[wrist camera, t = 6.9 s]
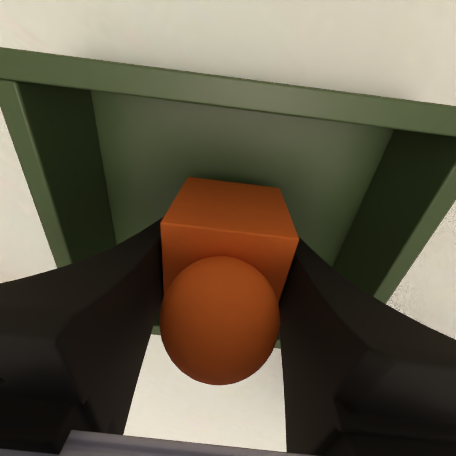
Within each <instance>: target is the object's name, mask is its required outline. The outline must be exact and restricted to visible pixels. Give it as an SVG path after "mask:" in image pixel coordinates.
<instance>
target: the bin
mask: <svg viewBox="0 0 456 456" xmlns="http://www.w3.org/2000/svg"><path fill="white" fill-rule="evenodd" d="M0 107H1V110H2V113H3V116H4V119H5V121H6V124H7V127H8V130H9V133H10V136H11V138H12V141H13V144H14V147H15V150H16V153H17V155H18V158H19V161H20V164H21V167H22V170H23V172H24V175H25V178H26V181H27V184H28V187H29V189H30V192H31V195H32V198H33V201H34V204H35V206H36V209H37V212H38V215H39V218H40V221H41V223H42V226H43V229H44V232H45V235H46V237H47V240H48V243H49V246H50V249H51V252H52V254H53V257H54V260H55V263H56V266H57V268H60V267H63V266H66V265H69V264H72V263H74V262H77V261H80V260H83V259H85V258H88V257H91V256H93V255H96V254H98V253H100V252H102V251H105V250H107V249H109V248H111V247H113V246H115V245H117V244H119V243H121V242H123V241H125V240H126V239H128V238H130V237H132V236H134V235H135V234H137V233H139V232H140V231H142V230H144V229H145V228H147V227H148V226H150V225H151V224H153V223H155V222H156V221H158V220H159V219H161V218H162V217H164V216H165V214H166V213H167V211H168V209H169V208H170V206H171V204H172V203H173V201H174V199H175V198H176V196H177V194H178V193H179V191H180V189H181V188H182V186H183V184H184V183H185V181H186V179H187V178H188V177H194V178H202V179H210V180H218V181H227V182H235V183H243V184H251V185H259V186H267V187H276V188H280V190H281V193H282V196H283V198H284V201H285V203H286V206H287V209H288V211H289V214H290V217H291V219H292V222H293V224H294V227H295V230H296V232H297V235H298V236H299V237H300V238H301V239H302V240H303V241H304V242H305V243H306V244H307V245H308V246H309V247H310V248H311V249H312V250H313V251H314V252H316V253H317V254H318V255H319V256H320V257H321V258H322V259H323V260H324V261H325V262H327V263H328V264H329V265H330V266H331V267H333V268H334V269H335V270H336V271H337V272H339V273H340V274H341V275H342V276H344V277H345V278H347V279H348V280H349V281H351V282H352V283H353V284H355V285H356V286H358V287H359V288H361V289H362V290H364V291H365V292H367V293H368V294H370V295H371V296H373V297H375V298H376V299H378V300H379V301H381V302H383V303H384V304H386V303H387V301H388V300H389V298H390V297H391V295H392V294H393V292H394V291H395V289H396V288H397V286H398V285H399V283H400V282H401V280H402V279H403V277H404V276H405V275H406V273H407V272H408V270H409V269H410V267H411V266H412V264H413V263H414V261H415V260H416V258H417V257H418V255H419V254H420V252H421V251H422V249H423V248H424V246H425V245H426V243H427V242H428V240H429V239H430V237H431V236H432V234H433V233H434V232H435V230H436V229H437V227H438V226H439V224H440V223H441V221H442V220H443V218H444V217H445V215H446V214H447V212H448V211H449V209H450V208H451V206H452V205H453V203H454V202H455V200H456V106H451V105H443V104H435V103H428V102H420V101H412V100H404V99H397V98H389V97H381V96H374V95H366V94H358V93H350V92H343V91H335V90H327V89H320V88H312V87H304V86H296V85H289V84H281V83H273V82H266V81H258V80H250V79H242V78H235V77H227V76H219V75H211V74H204V73H196V72H188V71H181V70H173V69H165V68H157V67H150V66H142V65H134V64H127V63H119V62H111V61H103V60H96V59H88V58H80V57H73V56H65V55H57V54H49V53H42V52H34V51H26V50H19V49H11V48H3V47H0ZM161 305H162V304H161ZM160 309H161V307H160ZM160 309H159V311H158V314H157V317H156V319H155V322H154V326H153V329H152V332H151V334H154V335H161V333H160V323H159V320H160ZM274 348H279V349H281V344H280V334H278V338H277V342H276V344H275V347H274Z"/></svg>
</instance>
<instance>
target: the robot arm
mask: <svg viewBox="0 0 456 456" xmlns="http://www.w3.org/2000/svg"><path fill="white" fill-rule="evenodd" d="M163 218H164V217H162V218H161V219H159V220H158V221H156V222H155V223H153V224H151V225H150V226H148V227H147V228H145V229H144V230H142V231H140V232H139V233H137V234H135V235H134V236H132V237H130V238H128V239H126V240H125V241H123V242H121V243H119V244H117V245H115V246H113V247H111V248H109V249H107V250H105V251H102V252H100V253H98V254H96V255H93V256H91V257H88V258H85V259H83V260H80V261H77V262H74V263H72V264H69V265H66V266H63V267H60V268H57V269H54V270H50V271H47V272H44V273H40V274H37V275H33V276H29V277H26V278H22V279H18V280H13V281H9V282H5V283H0V456H456V340H455V339H453V338H451V337H448V336H446V335H444V334H442V333H440V332H438V331H436V330H433V329H431V328H429V327H427V326H425V325H423V324H421V323H419V322H417V321H415V320H413V319H411V318H410V317H408V316H406V315H404V314H402V313H400V312H398V311H397V310H395V309H393V308H391V307H390V306H388V305H386V304H384V303H383V302H381V301H379V300H378V299H376V298H375V297H373V296H371V295H370V294H368V293H367V292H365V291H364V290H362V289H361V288H359V287H358V286H356V285H355V284H353V283H352V282H351V281H349V280H348V279H347V278H345V277H344V276H342V275H341V274H340V273H339V272H337V271H336V270H335V269H334V268H333V267H331V266H330V265H329V264H328V263H327V262H325V261H324V260H323V259H322V258H321V257H320V256H319V255H318V254H317V253H316V252H314V251H313V250H312V249H311V248H310V247H309V246H308V245H307V244H306V243H305V242H304V241H303V240H302V239H301V238H300V237H299V236H298V237H299V242H298V245H297V248H296V251H295V254H294V257H293V260H292V263H291V266H290V269H289V272H288V276H287V279H286V282H285V285H284V288H283V291H282V294H281V297H280V300H279V303H278V306H279V312H280V328H279V334H280V344H281V355H282V368H283V381H284V399H285V418H286V445H287V452H277V451H268V450H258V449H249V448H239V447H230V446H220V445H211V444H201V443H192V442H182V441H173V440H163V439H154V438H144V437H135V436H125V435H123V433H124V429H125V426H126V422H127V418H128V414H129V410H130V406H131V402H132V398H133V395H134V391H135V387H136V384H137V380H138V377H139V373H140V369H141V366H142V362H143V359H144V355H145V352H146V349H147V345H148V342H149V339H150V335H151V332H152V329H153V326H154V322H155V319H156V317H157V314H158V311H159V309H160V307H161V304H162V301H163V298H164V289H163V268H162V247H161V226H160V223H161V221H162V219H163Z"/></svg>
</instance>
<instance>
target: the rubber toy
mask: <svg viewBox="0 0 456 456" xmlns="http://www.w3.org/2000/svg"><path fill="white" fill-rule="evenodd" d="M160 226H161V247H162V268H163V289H164V298H163V301H162V305H161V309H160V320H159V323H160V333H161V338H162V342H163V344H164V347H165V349H166V352H167V353H168V355H169V357H170V358H171V360H172V361H173V363H174V364H175V365H176V366H177V367H178V368H179V369H180V370H181V371H182V372H183V373H185V374H186V375H187V376H189V377H190V378H192V379H194V380H196V381H199V382H202V383H205V384H210V385H227V384H233V383H236V382H239V381H241V380H244V379H246V378H248V377H249V376H251V375H252V374H254V373H255V372H256V371H258V370H259V369H260V368H261V367H262V365H263V364H264V363H265V362H266V361H267V359H268V358H269V356H270V355H271V353H272V351H273V349H274V347H275V344H276V342H277V338H278V334H279V328H280V312H279V306H278V303H279V300H280V297H281V294H282V291H283V288H284V285H285V282H286V279H287V276H288V272H289V269H290V266H291V263H292V260H293V257H294V254H295V251H296V248H297V245H298V242H299V237H298V235H297V232H296V230H295V227H294V224H293V222H292V219H291V217H290V214H289V211H288V209H287V206H286V203H285V201H284V198H283V196H282V193H281V190H280V188H276V187H267V186H259V185H251V184H243V183H235V182H227V181H218V180H210V179H202V178H194V177H188V178H187V179H186V181H185V183H184V184H183V186H182V188H181V189H180V191H179V193H178V194H177V196H176V198H175V199H174V201H173V203H172V204H171V206H170V208H169V209H168V211H167V213H166V214H165V216H164V218H163V219H162V221H161V223H160Z"/></svg>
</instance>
